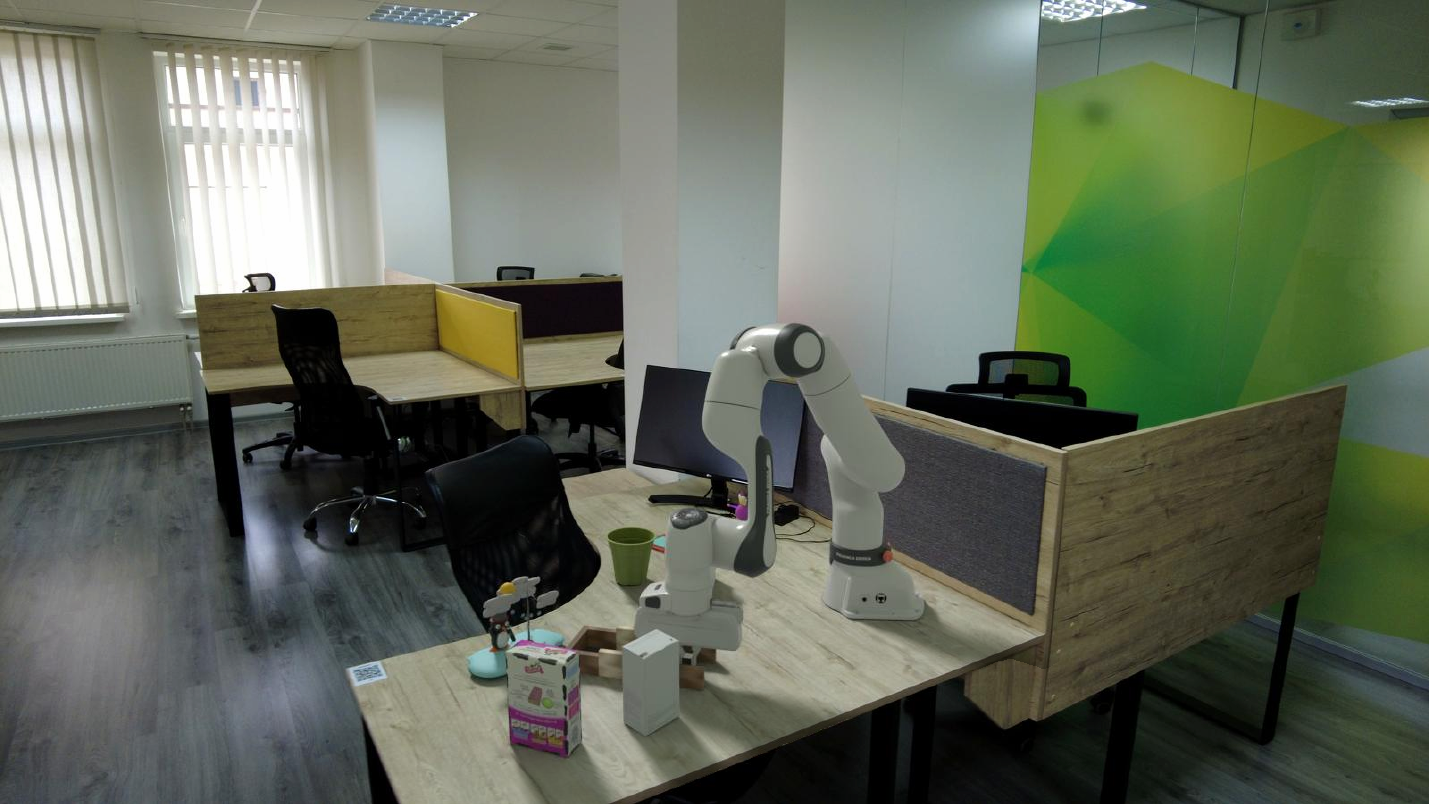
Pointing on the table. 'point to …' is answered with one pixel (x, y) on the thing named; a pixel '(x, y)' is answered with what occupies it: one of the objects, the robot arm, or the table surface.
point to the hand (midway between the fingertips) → (687, 664)
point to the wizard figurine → (741, 507)
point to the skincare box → (650, 681)
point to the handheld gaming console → (659, 543)
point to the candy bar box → (544, 697)
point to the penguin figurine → (494, 658)
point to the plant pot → (631, 553)
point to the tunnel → (605, 655)
